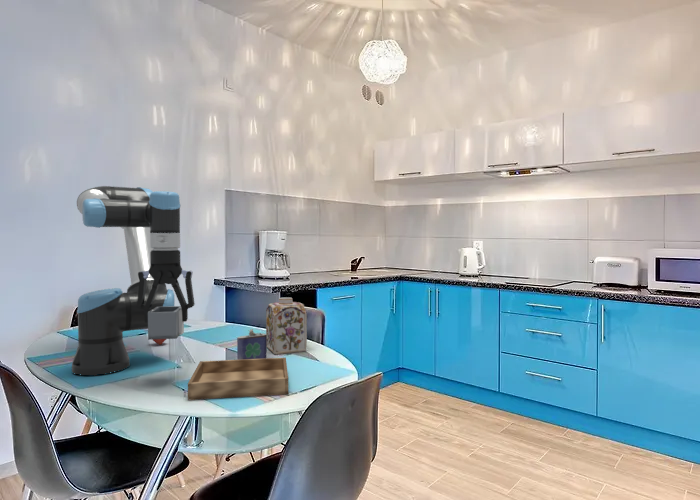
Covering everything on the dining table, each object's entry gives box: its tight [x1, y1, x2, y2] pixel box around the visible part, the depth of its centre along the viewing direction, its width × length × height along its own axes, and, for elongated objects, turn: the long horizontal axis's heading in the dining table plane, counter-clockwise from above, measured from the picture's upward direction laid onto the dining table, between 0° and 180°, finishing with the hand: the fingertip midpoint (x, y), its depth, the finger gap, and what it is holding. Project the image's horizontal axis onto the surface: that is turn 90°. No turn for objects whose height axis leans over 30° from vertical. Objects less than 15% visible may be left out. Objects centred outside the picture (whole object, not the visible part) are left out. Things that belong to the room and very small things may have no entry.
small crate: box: [147, 305, 182, 341], centre depth 126 cm, size 7×10×7 cm
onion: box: [152, 339, 167, 346], centre depth 169 cm, size 6×6×8 cm
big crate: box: [187, 357, 289, 401], centre depth 124 cm, size 24×20×4 cm
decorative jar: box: [265, 296, 308, 355], centre depth 161 cm, size 12×12×18 cm
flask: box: [236, 328, 268, 360], centre depth 143 cm, size 9×3×11 cm, turn 121°
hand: (166, 333), depth 126 cm, fingers closed on small crate, 7 cm apart
